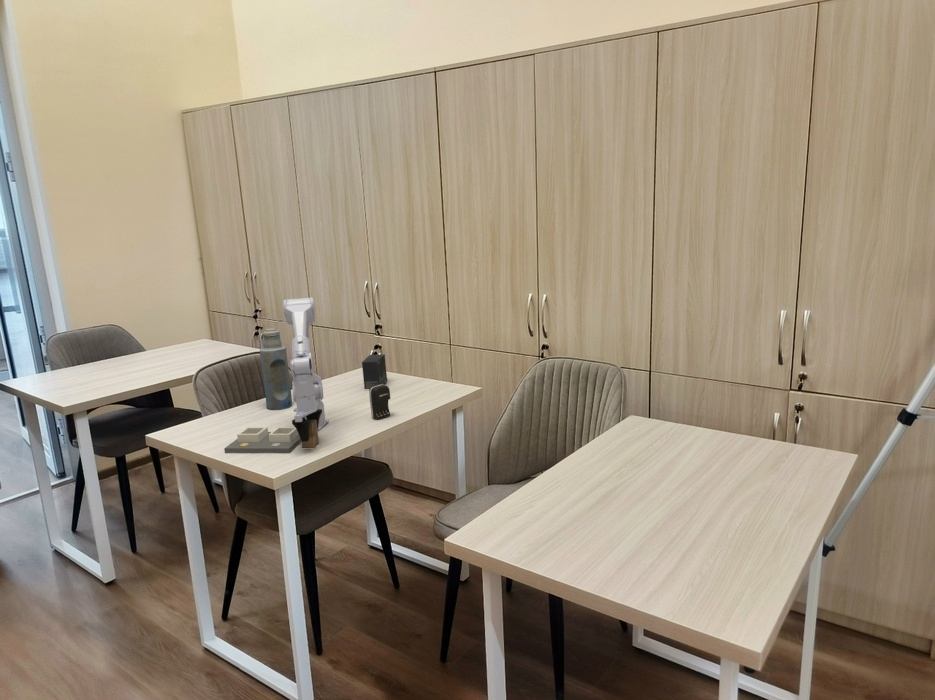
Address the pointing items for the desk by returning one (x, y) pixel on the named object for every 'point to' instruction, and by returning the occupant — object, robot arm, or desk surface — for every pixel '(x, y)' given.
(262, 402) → the desk surface
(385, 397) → the battery charger
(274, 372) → the bottle
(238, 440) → the socket board
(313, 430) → the walnut peg
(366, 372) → the small box
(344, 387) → the desk surface
